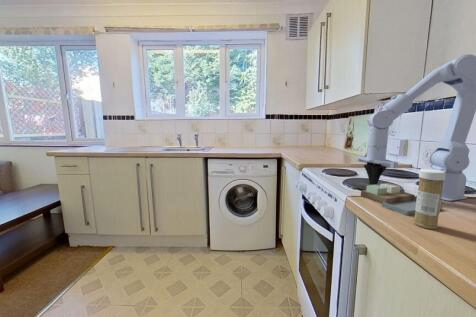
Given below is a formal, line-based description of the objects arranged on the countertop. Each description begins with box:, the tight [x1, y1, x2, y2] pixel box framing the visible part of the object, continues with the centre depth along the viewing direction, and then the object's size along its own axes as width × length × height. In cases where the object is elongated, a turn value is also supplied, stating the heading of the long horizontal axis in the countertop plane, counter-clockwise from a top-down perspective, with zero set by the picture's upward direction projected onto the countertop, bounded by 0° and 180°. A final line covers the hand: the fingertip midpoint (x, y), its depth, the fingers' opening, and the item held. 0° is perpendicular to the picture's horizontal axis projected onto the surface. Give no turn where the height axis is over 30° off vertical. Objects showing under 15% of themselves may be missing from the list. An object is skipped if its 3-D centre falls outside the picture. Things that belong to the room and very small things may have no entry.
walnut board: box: [360, 189, 415, 205], centre depth 73 cm, size 12×9×2 cm
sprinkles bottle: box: [413, 168, 446, 230], centre depth 53 cm, size 5×5×13 cm
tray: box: [381, 197, 443, 216], centre depth 65 cm, size 14×7×1 cm, turn 109°
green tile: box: [365, 184, 387, 195], centre depth 73 cm, size 4×4×2 cm
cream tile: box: [379, 182, 402, 193], centre depth 75 cm, size 4×4×2 cm
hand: (373, 184), depth 81 cm, fingers closed
